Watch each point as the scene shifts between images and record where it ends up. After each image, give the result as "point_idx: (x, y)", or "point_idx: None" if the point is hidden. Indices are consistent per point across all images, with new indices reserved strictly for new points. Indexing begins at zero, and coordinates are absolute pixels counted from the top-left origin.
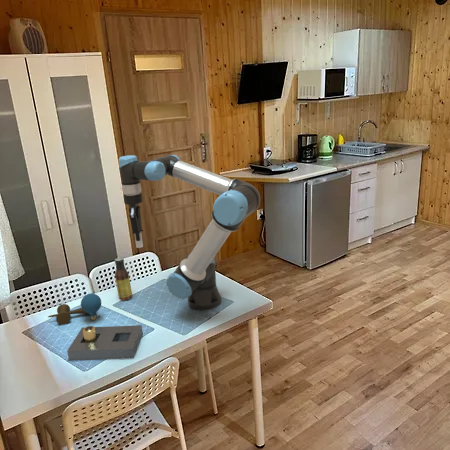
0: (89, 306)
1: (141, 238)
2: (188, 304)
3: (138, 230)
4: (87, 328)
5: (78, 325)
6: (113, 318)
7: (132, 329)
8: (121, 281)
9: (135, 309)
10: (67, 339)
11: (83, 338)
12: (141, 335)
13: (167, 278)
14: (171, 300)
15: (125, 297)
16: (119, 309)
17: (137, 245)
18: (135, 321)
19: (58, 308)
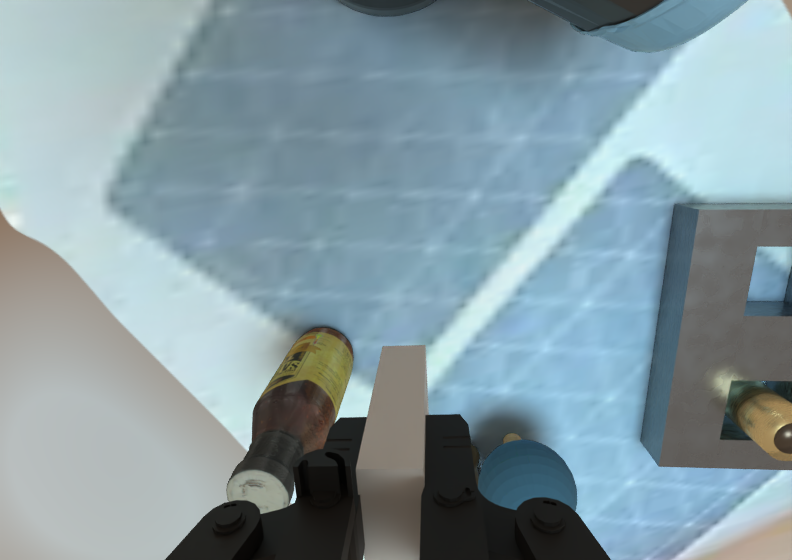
0: (576, 490)
1: (417, 407)
2: (424, 5)
3: (603, 555)
4: (789, 444)
5: None
6: (511, 363)
7: (730, 246)
8: (336, 405)
9: (438, 285)
10: (651, 490)
11: (742, 437)
12: (704, 204)
13: (721, 19)
14: (357, 118)
15: (349, 353)
16: (431, 356)
17: (427, 414)
18: (552, 261)
19: None
